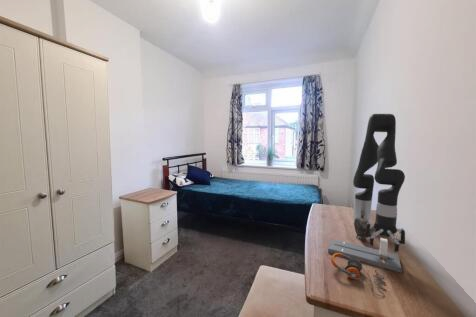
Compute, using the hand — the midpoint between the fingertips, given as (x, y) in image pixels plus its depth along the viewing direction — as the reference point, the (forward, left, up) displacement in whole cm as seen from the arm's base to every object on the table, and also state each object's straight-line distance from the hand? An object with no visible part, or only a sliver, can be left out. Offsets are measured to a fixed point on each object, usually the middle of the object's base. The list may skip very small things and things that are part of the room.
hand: (383, 248), depth 93 cm
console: (0, -8, -6) cm, 10 cm away
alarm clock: (-20, -9, -6) cm, 23 cm away
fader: (0, 0, -3) cm, 3 cm away
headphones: (+19, -9, -6) cm, 22 cm away
